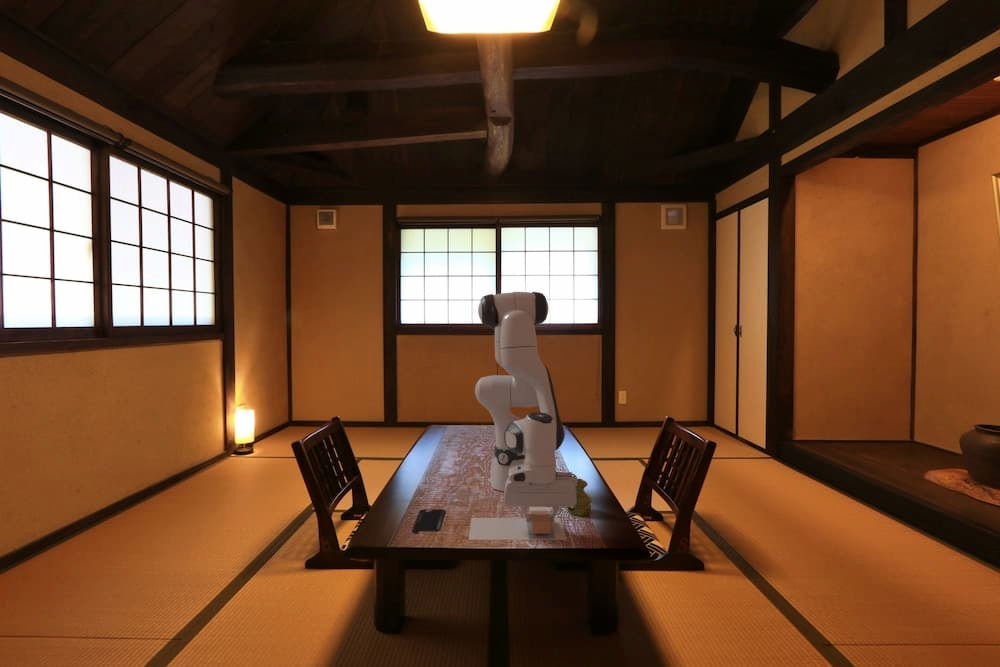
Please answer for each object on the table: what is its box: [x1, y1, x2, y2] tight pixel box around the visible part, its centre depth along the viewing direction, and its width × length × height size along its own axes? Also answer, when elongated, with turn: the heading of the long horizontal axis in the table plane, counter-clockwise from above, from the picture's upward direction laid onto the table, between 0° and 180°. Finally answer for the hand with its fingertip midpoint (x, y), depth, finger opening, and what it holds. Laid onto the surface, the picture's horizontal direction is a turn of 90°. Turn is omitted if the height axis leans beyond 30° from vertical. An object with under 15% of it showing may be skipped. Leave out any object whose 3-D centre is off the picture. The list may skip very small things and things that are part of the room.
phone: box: [411, 508, 446, 534], centre depth 142 cm, size 8×1×15 cm
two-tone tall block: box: [529, 507, 551, 534], centre depth 137 cm, size 11×5×3 cm, turn 0°
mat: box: [468, 517, 568, 541], centre depth 137 cm, size 14×26×1 cm, turn 90°
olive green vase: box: [566, 478, 593, 517], centre depth 150 cm, size 7×7×10 cm
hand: (539, 521), depth 137 cm, fingers closed on two-tone tall block, 5 cm apart
